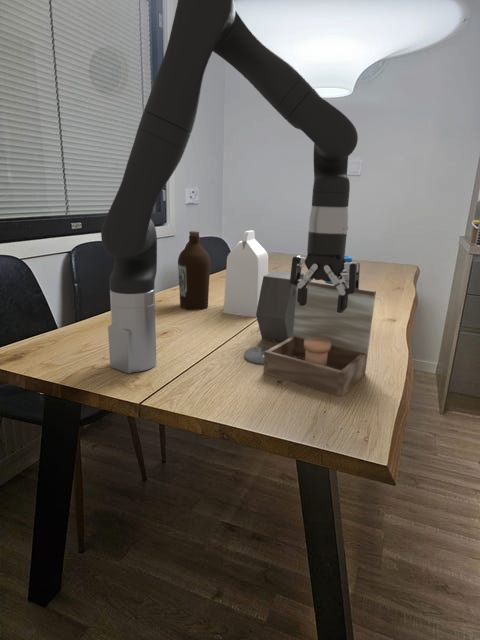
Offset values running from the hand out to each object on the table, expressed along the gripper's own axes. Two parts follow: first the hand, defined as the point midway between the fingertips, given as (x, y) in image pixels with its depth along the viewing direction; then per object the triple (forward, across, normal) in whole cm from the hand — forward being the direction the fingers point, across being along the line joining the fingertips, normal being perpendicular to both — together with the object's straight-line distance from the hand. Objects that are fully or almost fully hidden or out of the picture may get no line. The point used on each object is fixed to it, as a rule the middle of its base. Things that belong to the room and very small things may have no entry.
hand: (321, 308), depth 89 cm
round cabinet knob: (+15, 0, 0) cm, 15 cm away
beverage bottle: (+15, -13, +43) cm, 47 cm away
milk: (+15, -40, +33) cm, 54 cm away
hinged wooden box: (+15, 0, 0) cm, 15 cm away
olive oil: (+15, -56, +25) cm, 63 cm away
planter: (+15, -18, +17) cm, 29 cm away
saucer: (+15, -14, +1) cm, 20 cm away
